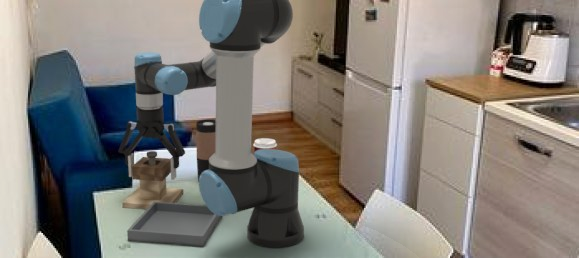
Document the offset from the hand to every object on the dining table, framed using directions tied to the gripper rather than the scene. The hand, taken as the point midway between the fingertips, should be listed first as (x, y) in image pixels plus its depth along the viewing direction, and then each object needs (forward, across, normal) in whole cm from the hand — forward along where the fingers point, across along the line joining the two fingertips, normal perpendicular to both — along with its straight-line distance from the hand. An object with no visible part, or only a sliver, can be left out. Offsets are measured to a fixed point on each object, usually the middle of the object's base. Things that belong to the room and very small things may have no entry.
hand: (152, 176), depth 189 cm
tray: (+7, -13, +18) cm, 23 cm away
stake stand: (+7, 0, 0) cm, 7 cm away
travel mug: (+8, -12, -19) cm, 24 cm away
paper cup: (+8, -30, -22) cm, 38 cm away
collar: (-1, 0, 0) cm, 1 cm away
